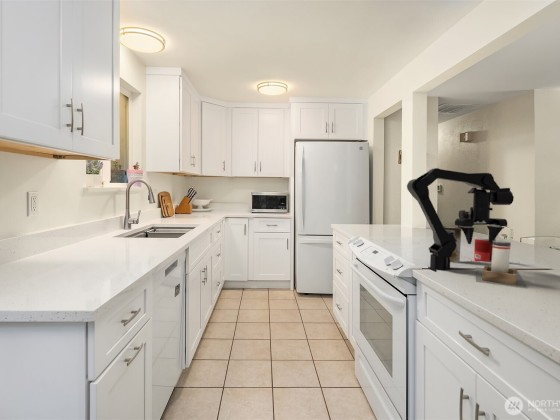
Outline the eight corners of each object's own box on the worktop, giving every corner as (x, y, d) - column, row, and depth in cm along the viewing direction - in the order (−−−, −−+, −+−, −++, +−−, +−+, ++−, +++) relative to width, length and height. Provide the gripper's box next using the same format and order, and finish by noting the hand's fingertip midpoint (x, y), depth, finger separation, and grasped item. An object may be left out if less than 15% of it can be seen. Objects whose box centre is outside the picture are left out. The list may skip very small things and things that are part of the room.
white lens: (498, 280, 106) (501, 243, 105) (486, 276, 111) (489, 240, 110) (511, 280, 107) (514, 243, 106) (499, 276, 112) (502, 240, 111)
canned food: (494, 264, 136) (495, 239, 135) (473, 262, 140) (474, 238, 140) (495, 261, 142) (496, 237, 141) (474, 259, 146) (475, 236, 146)
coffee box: (436, 262, 140) (437, 227, 139) (437, 259, 145) (438, 225, 144) (459, 264, 135) (460, 228, 134) (460, 262, 140) (461, 226, 139)
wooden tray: (481, 280, 108) (482, 270, 108) (484, 274, 116) (485, 265, 115) (516, 285, 102) (516, 275, 102) (516, 279, 110) (517, 269, 110)
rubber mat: (527, 290, 99) (527, 288, 99) (475, 283, 107) (475, 281, 107) (518, 274, 120) (518, 272, 120) (475, 269, 127) (475, 267, 127)
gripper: (487, 204, 132) (485, 240, 133) (446, 204, 130) (445, 241, 131) (509, 205, 121) (507, 244, 122) (465, 205, 119) (463, 245, 120)
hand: (479, 243), depth 124 cm, fingers open, 9 cm apart
